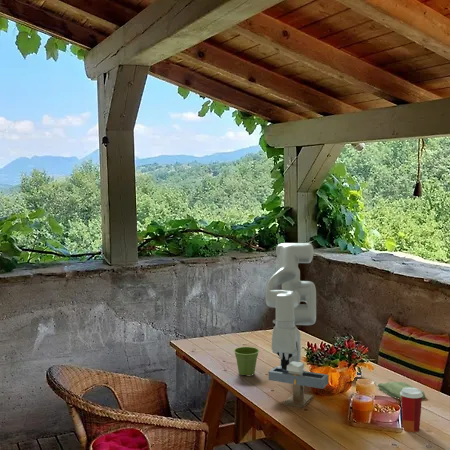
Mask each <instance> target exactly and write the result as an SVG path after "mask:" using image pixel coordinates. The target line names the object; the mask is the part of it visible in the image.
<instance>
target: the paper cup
mask: <svg viewBox="0 0 450 450" xmlns="http://www.w3.org/2000/svg"><path fill="white" fill-rule="evenodd" d="M420 390H421V389H420V388H416V387H415V388H411V387H407V388H403V389H402V391H401V392H400V395H401V401H400V402H401V417H402V420H401V421H402V422H401V423H402V429H403V428H404V429H403V430H404V431H406V432H408V433H419V431H420V427H421V416H422V415H421V413H422V401H423V399H422V396H423V394H422V392H421V391H420Z"/></svg>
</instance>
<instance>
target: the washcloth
mask: <svg viewBox="0 0 450 450" xmlns="http://www.w3.org/2000/svg"><path fill="white" fill-rule="evenodd" d="M377 387H378V388H379V389H380V390H382V391H383V393H384V392H385V394H386V393H387V394H386V395H388V394H389V395H388V396H390V397H391V398H393V397H396V398H399V399H400V400H401V395H400V392H401V391H402V389H403V388H407V387H411V388H416V387H415V386H413V385H410V384H408V383H406V381H388V382H386V383H385V382H378V384H377ZM379 389H378V390H379ZM380 390H379V391H380ZM419 390H420V391H421V392H422V394H423V396H422V400H423V399H425V398H426V394H425V392H424V391H423V390H421V389H419ZM382 391H381V392H382Z"/></svg>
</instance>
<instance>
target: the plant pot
mask: <svg viewBox="0 0 450 450" xmlns="http://www.w3.org/2000/svg"><path fill="white" fill-rule="evenodd" d="M233 352H234V355H235V358H236V364H237V371H238V375H239V374H241V375H252V374H254V375H255V372H256V367H257V359H258V355H259V352H260V349H259V348H257V347H253V346H240V347H236V348H234V349H233ZM241 375H240V376H241ZM252 376H253V375H252Z"/></svg>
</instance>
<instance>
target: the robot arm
mask: <svg viewBox="0 0 450 450" xmlns="http://www.w3.org/2000/svg"><path fill="white" fill-rule="evenodd" d="M313 246H314V245H312V243H308V242H304V243H303V242H283V243H278V245H276V247H275V253H276V258H277V262H278V270H277V271H276V272H274V273H273V274H272V275H271V277H270V278H269V279H268V282H267V284H266V289H265V303H266V304H265V305H266V306H267V307H269V308H275V319H273V320H272V324H275V326H273V329H272V336H271V350H272V353H273V354H276V355H277V356H278V357H279V361H280V364H279V365H278V366H277V367H281V368H282V369H285V370H286V369H287V365H288V364H290V363H291V362H292V361H295V362H301V360H302V359H301V358H302V355H301V353H302V351H301V350H302V347H301V345H302V344H301V342H302V337H301V336H302V334H301V331H300V330H299V329H298V327H297V326H312V325H314V324H316V321H317V289H316V285H315V283H314V282H313V281H311V280H301V270H300V268H299V264H311V262H312V261H313V259H314V252H315V251H314V247H313ZM279 285H281V289H275V288H276V287H278V286H279ZM301 302H305V303H306V304H302V303H301ZM303 371H305V367H304V368H303Z"/></svg>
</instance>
